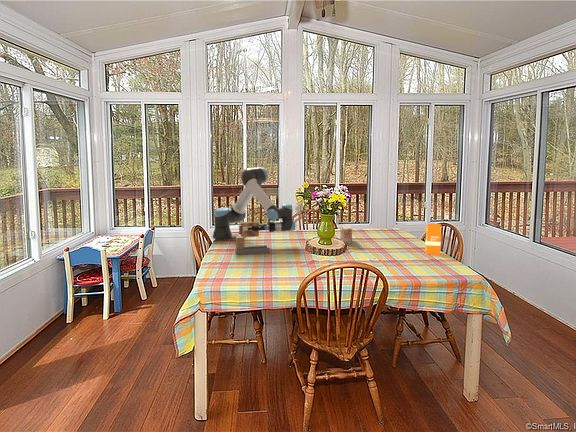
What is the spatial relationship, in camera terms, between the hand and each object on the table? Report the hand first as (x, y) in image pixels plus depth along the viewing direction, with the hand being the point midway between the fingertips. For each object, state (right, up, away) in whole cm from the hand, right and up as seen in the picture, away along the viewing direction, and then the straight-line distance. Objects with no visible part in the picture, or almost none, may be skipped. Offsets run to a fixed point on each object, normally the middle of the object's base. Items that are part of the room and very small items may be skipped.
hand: (242, 228), depth 319 cm
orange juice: (+129, -16, -14) cm, 131 cm away
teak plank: (+5, -6, +3) cm, 8 cm away
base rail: (+8, -16, -11) cm, 21 cm away
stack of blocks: (+76, -11, +21) cm, 79 cm away
